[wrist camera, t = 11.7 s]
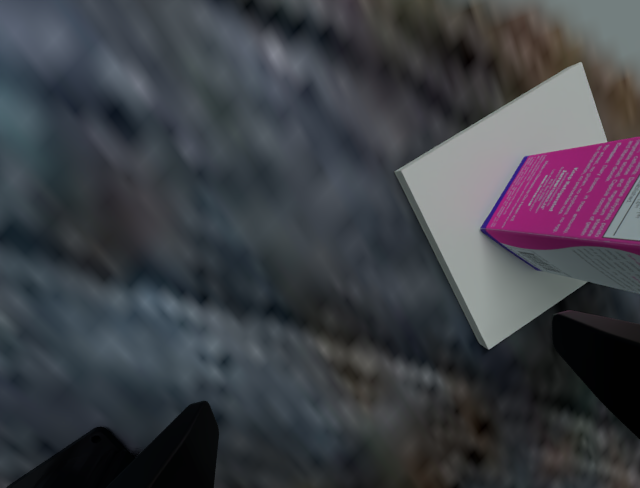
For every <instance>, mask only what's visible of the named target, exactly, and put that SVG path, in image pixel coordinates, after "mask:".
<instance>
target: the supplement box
mask: <svg viewBox="0 0 640 488" xmlns="http://www.w3.org/2000/svg"><path fill="white" fill-rule="evenodd" d="M480 230H481V231H482V232H483V233H484V234H485V235H487V236H488V237H490V238H491V239H492V240H494V241H495V242H497V243H498V244H499V245H501V246H502V247H503V248H505V249H506V250H508V251H509V252H511V253H512V254H514V255H515V256H516V257H518V258H519V259H521V260H522V261H524V262H525V263H527V264H528V265H530V266H531V267H533V268H534V269H535V270H537V271H543V272H548V273H552V274H557V275H561V276H566V277H570V278H574V279H579V280H583V281H587V282H592V283H596V284H600V285H604V286H608V287H612V288H617V289H621V290H625V291H630V292H634V293H638V294H640V137H634V138H629V139H623V140H617V141H611V142H606V143H600V144H594V145H588V146H582V147H576V148H570V149H564V150H559V151H553V152H547V153H541V154H535V155H529V156H525V157H524V158H523V159H522V161H521V163H520V164H519V166H518V168H517V169H516V171H515V173H514V174H513V176H512V178H511V179H510V181H509V183H508V184H507V186H506V187H505V189H504V191H503V192H502V194H501V196H500V197H499V199H498V200H497V202H496V204H495V206H494V207H493V209H492V210H491V212H490V213H489V215H488V217H487V218H486V220H485V221H484V223H483V224H482V226H481V227H480Z"/></svg>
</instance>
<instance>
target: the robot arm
mask: <svg viewBox="0 0 640 488" xmlns="http://www.w3.org/2000/svg"><path fill="white" fill-rule="evenodd" d="M552 341H553V345H554V348H555V349H556V351H557V352H558V353H559V355H560V356H561V357H562V358H563V359H564V360H565V361H566V363H567V364H568V365H569V366H570V367H571V368H572V369H573V371H574V372H575V373H576V374H577V375H578V376H579V377H580V379H581V380H582V381H583V382H584V383H585V384H586V385H587V386H588V388H589V389H590V390H591V391H592V392H593V393H594V394H595V396H596V397H597V398H598V399H599V400H600V401H601V402H602V403H603V404H604V405H605V406H606V407H607V408H608V409H609V410H610V411H611V412H612V413H613V414H614V415H615V416H616V417H617V418H618V419H619V420H620V421H621V422H622V423H623V424H624V425H625V426H626V427H627V428H628V429H629V430H630V431H632V432H633V433H634V434H635V435H636V436H637V437H638V438H639V439H640V324H636V323H631V322H626V321H621V320H617V319H612V318H607V317H602V316H597V315H592V314H587V313H582V312H577V311H572V310H568V311H564V312H560V313H556V314H554V315H553V316H552ZM95 436H100V437H101V438H100V439H99V438H96V437H95ZM218 439H219V429H218V425H217V422H216V420H215V417H214V415H213V412H212V410H211V407H210V405H209V403H208V402H207V401H201V402H197V403H193V404H190V405H189V406H188V407H187V408H186V409H185V410H184V411H183V412H182V413H181V414H180V415H179V416H178V417H177V418H176V419H175V420H174V421H173V422H172V423H171V424H170V425H169V426H168V427H167V428H166V429H164V430H163V431H162V432H161V433H160V434H159V435H158V436H157V437H156V438H155V439H154V440H153V441H152V442H151V443H150V444H149V445H148V446H147V447H146V448H145V449H144V450H143V451H142V452H141V453H140V454H139V455H138V456H137V457H136V458H134V457H133V456H132V455H131V454H130V453H129V452H128V451H127V450H126V449H125V448H124V447H123V446H122V445H121V444H120V443H119V442H118V441H117V440H116V439H115V437H114V436H113V435H112V434H111V433H110V432H109V431H108V430H107V429H105V428H103V427H96V428H94V429H92V430H91V431H89V432H88V433H86V434H85V435H84V436H82V437H81V438H79V439H78V440H76V441H75V442H73V443H72V444H70V445H69V446H67V447H66V448H64V449H63V450H61V451H60V452H58V453H57V454H55V455H54V456H52V457H51V458H49V459H48V460H46V461H45V462H43V463H42V464H40V465H39V466H37V467H36V468H34V469H33V470H31V471H30V472H28V473H27V474H25V475H24V476H22V477H21V478H19V479H18V480H16V481H15V482H13V483H12V484H10V485H9V486H8V487H7V488H214V479H215V469H216V459H217V449H218Z"/></svg>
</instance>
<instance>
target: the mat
mask: <svg viewBox="0 0 640 488" xmlns="http://www.w3.org/2000/svg"><path fill="white" fill-rule="evenodd" d="M606 142H607V139H606V136H605V133H604V130H603V127H602V124H601V121H600V118H599V115H598V111H597V108H596V105H595V102H594V99H593V96H592V93H591V90H590V87H589V84H588V81H587V78H586V75H585V71H584V68H583V65H582V62H580V63H577V64H575V65H573V66H570V67H568V68H566V69H564V70H563V71H561V72H559V73H558V74H556V75H554V76H553V77H551V78H549V79H548V80H546V81H544V82H543V83H541V84H539V85H538V86H536V87H534V88H533V89H531V90H529V91H528V92H526V93H524V94H523V95H521V96H519V97H518V98H516V99H514V100H513V101H511V102H509V103H508V104H506V105H504V106H503V107H501V108H499V109H498V110H496V111H494V112H493V113H491V114H489V115H488V116H486V117H484V118H483V119H481V120H479V121H478V122H476V123H475V124H473V125H471V126H470V127H468V128H466V129H465V130H463V131H461V132H460V133H458V134H456V135H455V136H453V137H451V138H450V139H448V140H446V141H445V142H443V143H441V144H440V145H438V146H436V147H435V148H433V149H431V150H430V151H428V152H426V153H425V154H423V155H421V156H420V157H418V158H416V159H415V160H413V161H411V162H410V163H408V164H406V165H405V166H403V167H401V168H400V169H398V170H396V171H395V174H396V176H397V178H398V180H399V182H400V184H401V186H402V189H403V191H404V193H405V195H406V197H407V199H408V201H409V203H410V205H411V207H412V209H413V211H414V213H415V215H416V217H417V219H418V221H419V223H420V225H421V227H422V229H423V231H424V233H425V235H426V237H427V239H428V241H429V243H430V245H431V247H432V249H433V251H434V253H435V255H436V257H437V259H438V261H439V263H440V265H441V267H442V269H443V271H444V273H445V276H446V278H447V280H448V282H449V284H450V286H451V288H452V290H453V292H454V294H455V296H456V298H457V300H458V302H459V304H460V306H461V308H462V310H463V312H464V314H465V316H466V318H467V320H468V322H469V324H470V326H471V328H472V330H473V332H474V334H475V336H476V338H477V340H478V342H479V344H481V345H482V346H484V347H485V348H487V349H488V350H489V349H491V348H492V347H493V346H495V345H496V344H498V343H499V342H501V341H502V340H504V339H505V338H507V337H508V336H510V335H511V334H512V333H514V332H515V331H517V330H518V329H520V328H521V327H523V326H524V325H526V324H527V323H529V322H530V321H531V320H533V319H534V318H536V317H537V316H539V315H540V314H542V313H543V312H545V311H546V310H547V309H549V308H550V307H552V306H553V305H555V304H556V303H558V302H559V301H561V300H562V299H564V298H565V297H566V296H568V295H569V294H571V293H572V292H574V291H575V290H577V289H578V288H580V287H581V286H583V285H584V284H585V283H587V281H583V280H579V279H574V278H570V277H566V276H561V275H557V274H552V273H548V272H543V271H537V270H535V269H534V268H533V267H531V266H530V265H528V264H527V263H525V262H524V261H522V260H521V259H519V258H518V257H516V256H515V255H514V254H512V253H511V252H509V251H508V250H506V249H505V248H503V247H502V246H501V245H499V244H498V243H497V242H495V241H494V240H492V239H491V238H490V237H488V236H487V235H485V234H484V233H483V232H482V231H481V230H480V227H481V226H482V224H483V223H484V221H485V220H486V218H487V217H488V215H489V213H490V212H491V210H492V209H493V207H494V206H495V204H496V202H497V200H498V199H499V197H500V196H501V194H502V192H503V191H504V189H505V187H506V186H507V184H508V183H509V181H510V179H511V178H512V176H513V174H514V173H515V171H516V169H517V168H518V166H519V164H520V163H521V161H522V159H523V158H524V157H525V156H529V155H535V154H541V153H547V152H553V151H559V150H564V149H570V148H576V147H582V146H588V145H594V144H600V143H606Z"/></svg>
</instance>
